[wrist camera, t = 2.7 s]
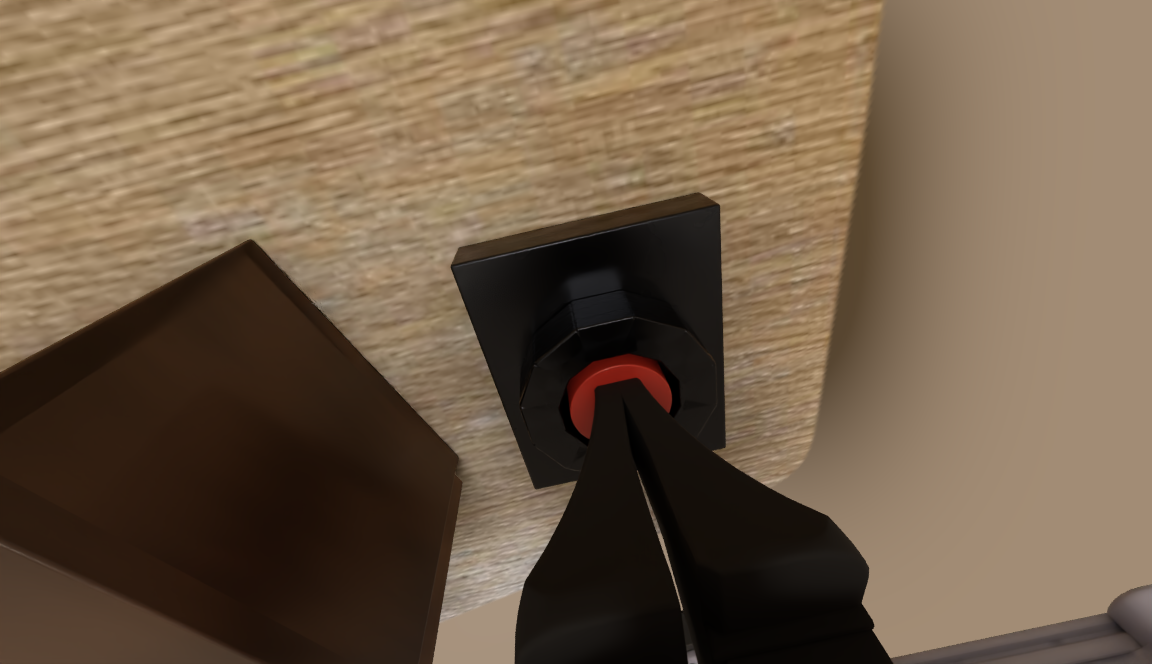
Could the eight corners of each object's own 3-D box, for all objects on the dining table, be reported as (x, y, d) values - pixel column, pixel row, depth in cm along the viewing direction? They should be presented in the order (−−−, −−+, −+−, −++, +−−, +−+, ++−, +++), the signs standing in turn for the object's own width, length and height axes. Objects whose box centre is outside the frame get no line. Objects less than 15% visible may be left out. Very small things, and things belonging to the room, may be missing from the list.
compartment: (459, 457, 18) (407, 730, 10) (211, 569, 20) (15, 868, 12) (251, 238, 13) (-175, 464, 5) (-56, 420, 15) (-692, 780, 7)
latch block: (710, 420, 19) (746, 484, 16) (534, 459, 19) (535, 530, 16) (700, 191, 13) (749, 220, 10) (457, 247, 14) (437, 291, 11)
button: (661, 399, 15) (676, 433, 14) (576, 418, 15) (581, 454, 14) (652, 325, 14) (667, 354, 12) (556, 346, 14) (560, 378, 12)
